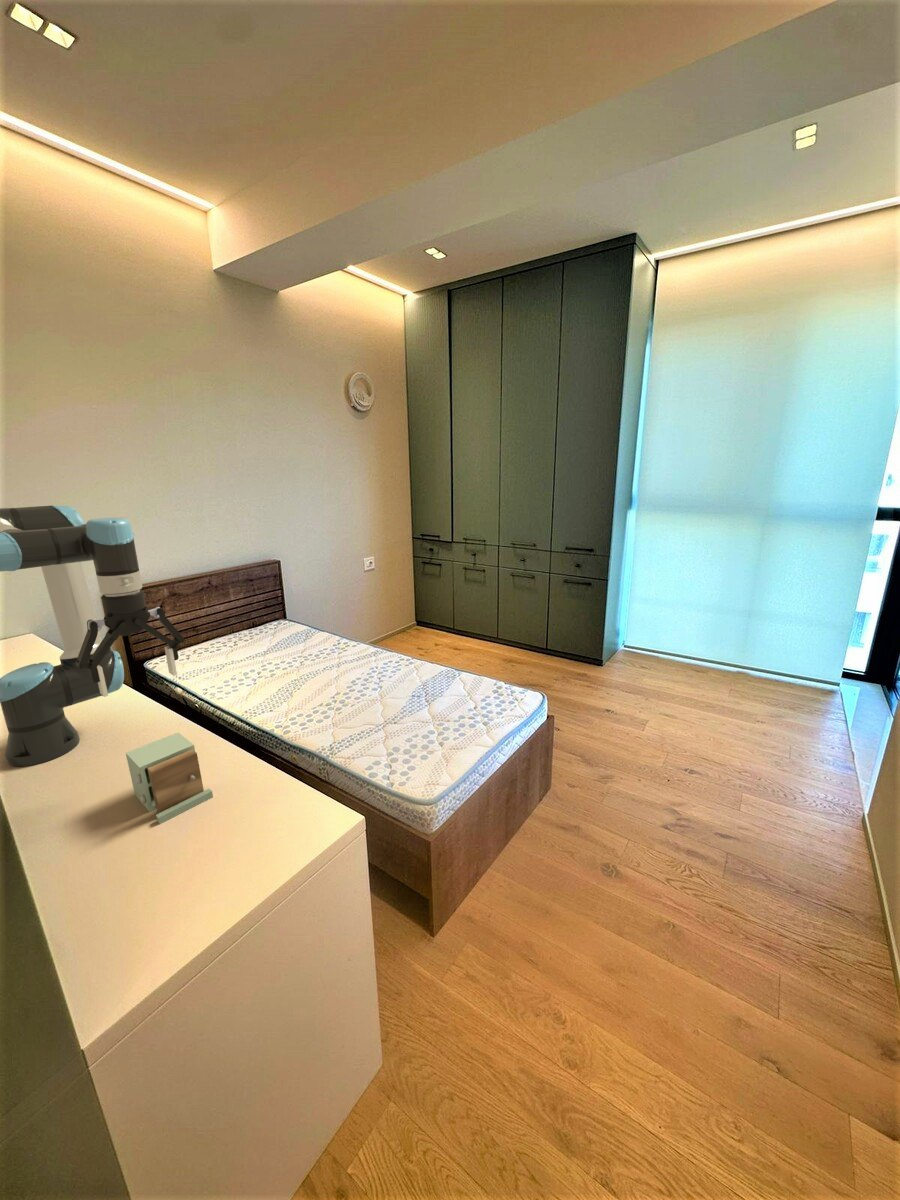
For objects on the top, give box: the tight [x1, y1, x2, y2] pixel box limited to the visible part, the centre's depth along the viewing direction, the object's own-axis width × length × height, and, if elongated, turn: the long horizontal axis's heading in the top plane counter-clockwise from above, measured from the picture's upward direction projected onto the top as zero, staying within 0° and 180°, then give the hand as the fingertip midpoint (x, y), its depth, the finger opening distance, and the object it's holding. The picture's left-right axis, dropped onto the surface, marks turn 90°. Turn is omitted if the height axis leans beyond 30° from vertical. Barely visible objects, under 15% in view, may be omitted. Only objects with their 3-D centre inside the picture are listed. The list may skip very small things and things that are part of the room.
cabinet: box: [125, 731, 214, 825], centre depth 105 cm, size 15×12×11 cm
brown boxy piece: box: [147, 750, 205, 814], centre depth 102 cm, size 4×9×11 cm, turn 140°
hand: (140, 683), depth 105 cm, fingers open, 13 cm apart
